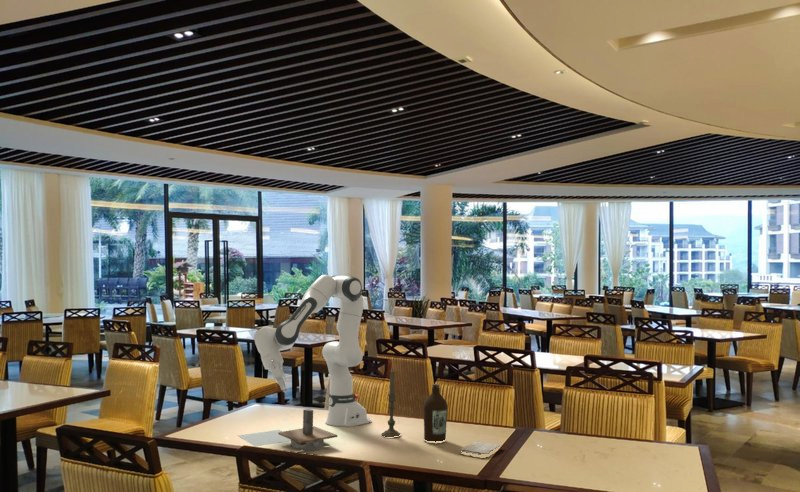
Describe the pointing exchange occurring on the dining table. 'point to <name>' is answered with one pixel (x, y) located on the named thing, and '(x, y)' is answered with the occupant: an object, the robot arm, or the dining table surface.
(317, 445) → the dish
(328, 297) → the robot arm
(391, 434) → the candlestick holder
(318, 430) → the lid
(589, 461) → the dining table surface
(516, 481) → the dining table surface
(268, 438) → the mat
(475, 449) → the washcloth
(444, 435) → the olive oil
